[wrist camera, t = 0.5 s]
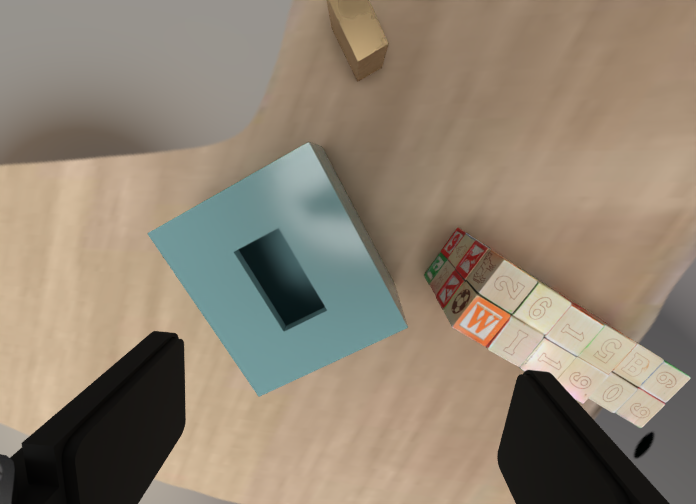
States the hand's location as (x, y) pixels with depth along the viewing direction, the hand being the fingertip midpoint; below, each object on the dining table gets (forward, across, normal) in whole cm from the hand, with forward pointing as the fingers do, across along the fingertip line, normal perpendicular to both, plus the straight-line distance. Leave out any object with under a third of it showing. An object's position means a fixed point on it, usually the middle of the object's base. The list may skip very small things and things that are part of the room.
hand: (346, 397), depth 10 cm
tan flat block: (+27, +1, -16) cm, 32 cm away
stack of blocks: (+28, -19, +7) cm, 34 cm away
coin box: (+27, +5, +3) cm, 28 cm away
